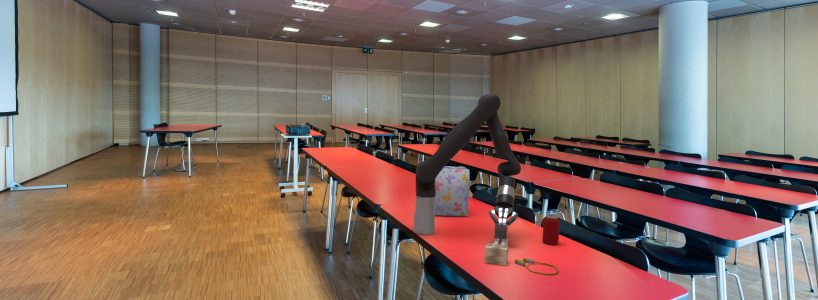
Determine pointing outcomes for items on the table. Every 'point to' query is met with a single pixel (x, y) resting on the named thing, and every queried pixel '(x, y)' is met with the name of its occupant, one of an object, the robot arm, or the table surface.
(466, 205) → the lunch bag
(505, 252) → the socket block
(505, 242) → the guide sleeve
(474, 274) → the table surface
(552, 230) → the beverage can
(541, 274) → the extension cord
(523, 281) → the table surface
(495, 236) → the dark grey block
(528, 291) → the table surface
